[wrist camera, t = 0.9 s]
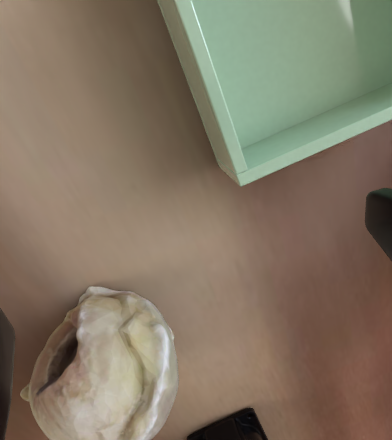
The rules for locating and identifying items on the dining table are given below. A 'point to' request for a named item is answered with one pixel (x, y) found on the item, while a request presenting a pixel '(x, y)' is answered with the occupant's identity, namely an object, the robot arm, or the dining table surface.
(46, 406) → the garlic bulb
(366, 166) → the dining table surface
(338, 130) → the basin
